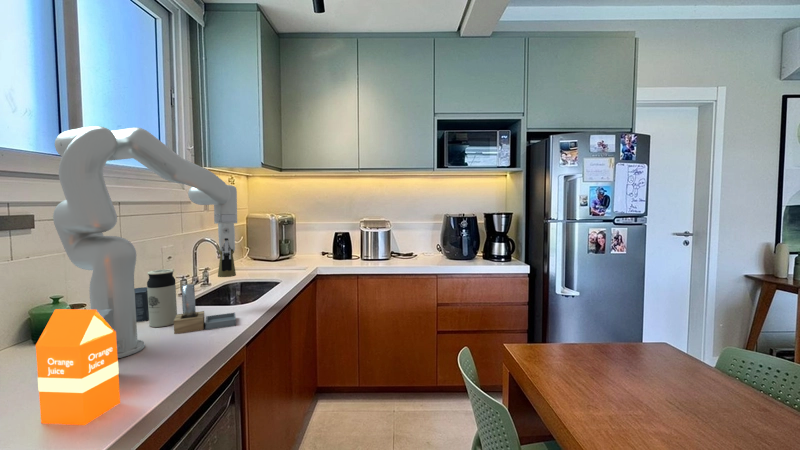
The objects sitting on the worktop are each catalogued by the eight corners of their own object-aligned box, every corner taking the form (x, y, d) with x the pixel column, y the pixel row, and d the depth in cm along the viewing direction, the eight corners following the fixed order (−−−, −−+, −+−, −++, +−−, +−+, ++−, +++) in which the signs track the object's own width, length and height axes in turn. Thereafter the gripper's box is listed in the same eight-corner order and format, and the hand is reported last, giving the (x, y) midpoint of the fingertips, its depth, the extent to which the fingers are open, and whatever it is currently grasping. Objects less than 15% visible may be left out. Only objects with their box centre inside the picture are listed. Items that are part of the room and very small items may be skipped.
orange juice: (80, 401, 74) (74, 303, 73) (121, 402, 74) (115, 304, 73) (39, 424, 67) (31, 315, 66) (84, 425, 66) (77, 315, 65)
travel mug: (168, 319, 129) (165, 268, 128) (182, 321, 126) (179, 269, 125) (144, 326, 122) (141, 272, 121) (158, 329, 119) (155, 273, 118)
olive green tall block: (215, 276, 133) (214, 245, 133) (231, 274, 138) (231, 244, 137) (221, 277, 129) (221, 246, 129) (238, 275, 134) (238, 245, 133)
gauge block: (203, 329, 117) (202, 317, 117) (174, 333, 114) (173, 321, 114) (204, 322, 125) (204, 311, 124) (177, 326, 121) (176, 314, 121)
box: (136, 316, 133) (134, 287, 133) (154, 315, 135) (153, 286, 135) (127, 323, 126) (125, 292, 125) (146, 321, 128) (145, 291, 127)
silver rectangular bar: (196, 328, 118) (193, 285, 118) (183, 330, 117) (180, 287, 116) (196, 325, 122) (194, 283, 121) (184, 327, 120) (181, 285, 119)
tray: (236, 325, 121) (235, 319, 121) (205, 329, 117) (204, 323, 117) (235, 318, 129) (235, 312, 129) (206, 322, 125) (206, 316, 125)
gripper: (237, 219, 127) (238, 272, 127) (236, 219, 142) (237, 266, 142) (213, 219, 124) (214, 273, 124) (214, 219, 139) (215, 267, 139)
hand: (226, 269), depth 133 cm, fingers closed on olive green tall block, 3 cm apart
